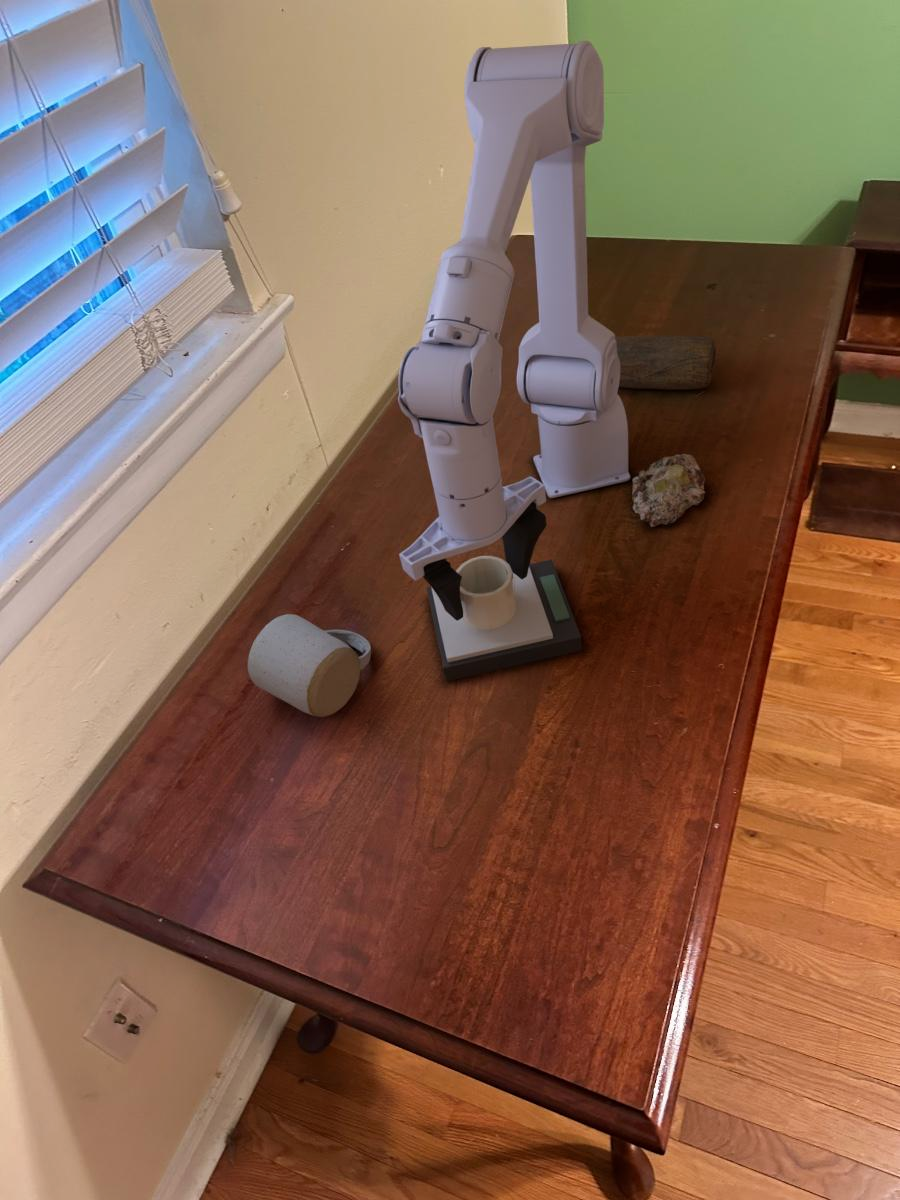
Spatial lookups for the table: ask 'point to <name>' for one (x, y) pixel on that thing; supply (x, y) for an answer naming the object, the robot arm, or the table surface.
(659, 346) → the wooden log
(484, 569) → the cream cup
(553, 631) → the scale
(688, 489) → the mineral rock
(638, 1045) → the table surface
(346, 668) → the ceramic mug
